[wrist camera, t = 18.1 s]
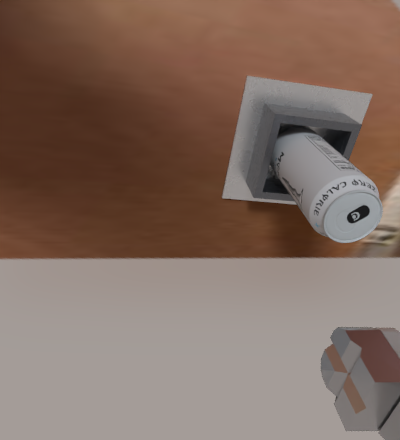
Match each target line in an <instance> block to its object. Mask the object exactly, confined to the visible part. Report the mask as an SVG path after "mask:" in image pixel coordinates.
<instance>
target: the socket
mask: <svg viewBox="0 0 400 440" xmlns="http://www.w3.org/2000/svg"><path fill="white" fill-rule="evenodd" d="M372 95H373V94H370V93H364V92H357V91H350V90H343V89H336V88H330V87H323V86H316V85H309V84H302V83H296V82H289V81H282V80H275V79H268V78H262V77H255V76H248V75H247V77H246V82H245V86H244V91H243V96H242V101H241V106H240V111H239V115H238V120H237V125H236V130H235V135H234V140H233V144H232V149H231V154H230V159H229V164H228V169H227V173H226V178H225V183H224V188H223V193H222V198H226V199H237V200H249V201H260V202H272V203H284V204H295V205H297V204H296V202H295V201H294V199H293V198H292V197H291V195H290V194H289V192H288V191H287V189H286V188H285V186H284V185H283V183H282V182H281V180H280V179H279V178H278V176H277V175H276V173H275V172H274V170H273V169H272V167H271V165H270V162H271V158H272V154H273V150H274V147H275V143H276V139H277V137H278V136H279V135H280V134H281V133H283V132H284V131H286V130H288V129H290V128H294V127H306V128H310V129H311V130H313V131H315V132H316V133H317V134H318V135H319V136H320V137H321V138H323V139H324V140H325V141H326V142H327V143H328V144H330V145H331V146H332V147H333V148H334V149H335V150H337V151H338V152H339V153H340V154H341V155H342V156H343V157H345V158H346V159H347V160H349V158H350V155H351V152H352V150H353V147H354V144H355V142H356V139H357V137H358V134H359V131H360V129H361V126H362V125H361V124H362V121H363V118H364V116H365V113H366V110H367V108H368V105H369V103H370V100H371V97H372Z"/></svg>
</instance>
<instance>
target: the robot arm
mask: <svg viewBox="0 0 400 440" xmlns="http://www.w3.org/2000/svg"><path fill="white" fill-rule="evenodd" d="M331 340H332V342H333V344H332V345H331V346H329V347H328V348H327V349H325V351H324V353H323V355H322V358H321V372H322V377H323V380H324V382H325V385H326V387H327V388H328V389H329V390H330V391H331V392H332V393H333V394H335V395H336V399H335V403H334V405H335V407H336V410H337V412H338V414H339V416H340V419H341V421H342V423H343V425H344V427H345V430H346V431H379V434H380V435H381V436H382V437H383V438H384V439H385V440H400V332H399V331H398V330H396V329H395V328H371V327H370V328H368V327H360V328H359V327H338V328H337V329H335V330H334V331H333V333H332V335H331Z"/></svg>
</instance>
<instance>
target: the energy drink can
mask: <svg viewBox="0 0 400 440" xmlns="http://www.w3.org/2000/svg"><path fill="white" fill-rule="evenodd" d="M270 165H271V167H272V169H273V170H274V172H275V173H276V175H277V176H278V178H279V179H280V180H281V182H282V183H283V185H284V186H285V188H286V189H287V191H288V192H289V194H290V195H291V197H292V198H293V199H294V201H295V202H296V204H297V205H298V207H299V208H300V210H301V211H302V213H303V214H304V216H305V217H306V219H307V220H308V221H309V223H310V224H311V226H312V227H313V228H314V230H315V231H317V232H318V233H319V234H321V235H323V236H326V237H329V238H331V239H332V240H334V241H336V242H340V243H349V242H354V241H358V240H360V239H362V238H364V237H365V236H367V235H368V234H370V233H371V232H372V231H373V230H374V229H375V228H376V226H377V225H378V223H379V222H380V219H381V217H382V212H383V207H382V203H381V201H380V199H379V193H378V189H377V187H376V185H375V184H374V183H373V182H372V181H371V180H370V179H369V178H368V177H367V176H365V175H364V174H363V173H362V172H361V171H360V170H359V169H357V168H356V167H355V166H354V165H353V164H352V163H350V162H349V161H348V160H347V159H346V158H345V157H343V156H342V155H341V154H340V153H339V152H338V151H337V150H335V149H334V148H333V147H332V146H331V145H330V144H328V143H327V142H326V141H325V140H324V139H323V138H321V137H320V136H319V135H318V134H317V133H316V132H315V131H313V130H311V129H310V128H306V127H294V128H290V129H288V130H286V131H284V132H283V133H281V134H280V135H279V136H278V137H277V139H276V143H275V147H274V150H273V154H272V158H271V162H270Z"/></svg>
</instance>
